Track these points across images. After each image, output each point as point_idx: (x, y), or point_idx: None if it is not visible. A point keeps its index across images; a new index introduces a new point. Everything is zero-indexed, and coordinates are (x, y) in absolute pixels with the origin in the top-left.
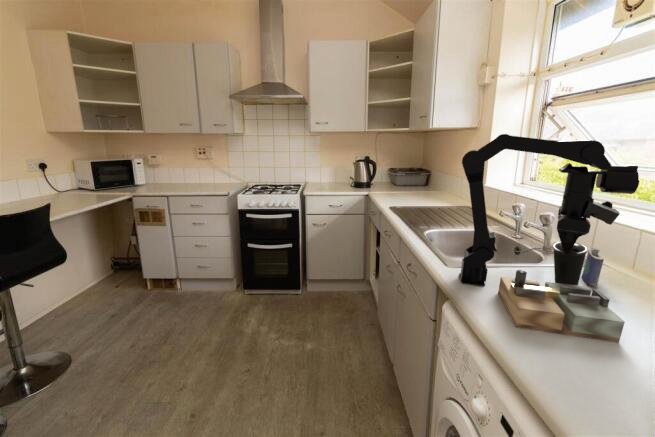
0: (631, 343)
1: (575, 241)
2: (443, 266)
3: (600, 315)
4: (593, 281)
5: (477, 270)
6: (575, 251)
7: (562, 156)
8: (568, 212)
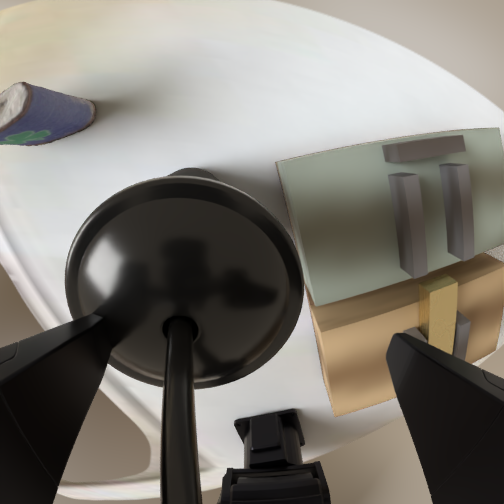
0: (452, 102)
1: (501, 381)
2: (214, 472)
3: (494, 178)
4: (86, 111)
5: (300, 456)
6: (282, 279)
7: None
8: None
